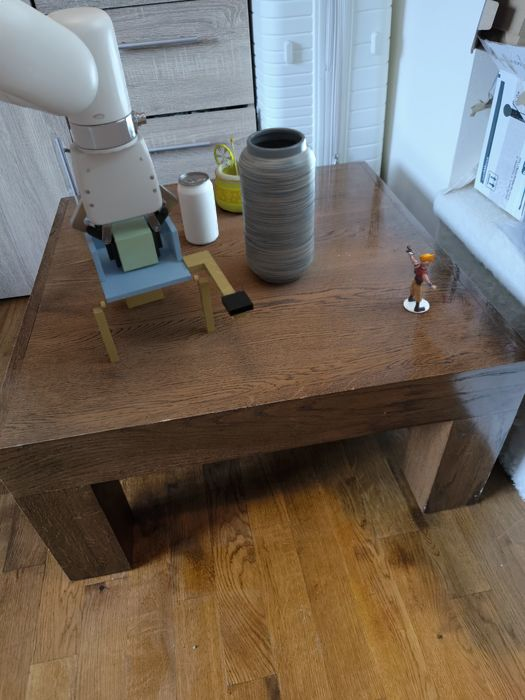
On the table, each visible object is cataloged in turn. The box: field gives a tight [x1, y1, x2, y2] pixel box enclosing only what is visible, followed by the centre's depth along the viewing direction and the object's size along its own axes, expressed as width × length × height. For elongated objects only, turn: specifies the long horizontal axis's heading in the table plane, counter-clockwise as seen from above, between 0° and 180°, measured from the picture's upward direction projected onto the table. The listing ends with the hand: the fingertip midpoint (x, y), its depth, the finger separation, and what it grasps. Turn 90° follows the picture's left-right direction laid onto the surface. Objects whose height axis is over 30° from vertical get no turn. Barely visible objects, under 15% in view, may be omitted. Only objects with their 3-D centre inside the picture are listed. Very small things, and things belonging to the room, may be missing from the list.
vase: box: [238, 127, 316, 284], centre depth 83 cm, size 12×12×23 cm
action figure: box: [403, 245, 438, 314], centre depth 79 cm, size 12×3×9 cm, turn 9°
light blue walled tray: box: [83, 212, 255, 320], centre depth 70 cm, size 17×26×6 cm, turn 23°
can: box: [176, 171, 219, 246], centre depth 96 cm, size 6×6×12 cm
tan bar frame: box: [92, 274, 216, 364], centre depth 78 cm, size 16×13×10 cm
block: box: [112, 217, 158, 272], centre depth 73 cm, size 5×5×5 cm
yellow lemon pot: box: [213, 136, 243, 213], centre depth 106 cm, size 13×11×12 cm
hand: (137, 256), depth 75 cm, fingers closed on block, 5 cm apart
